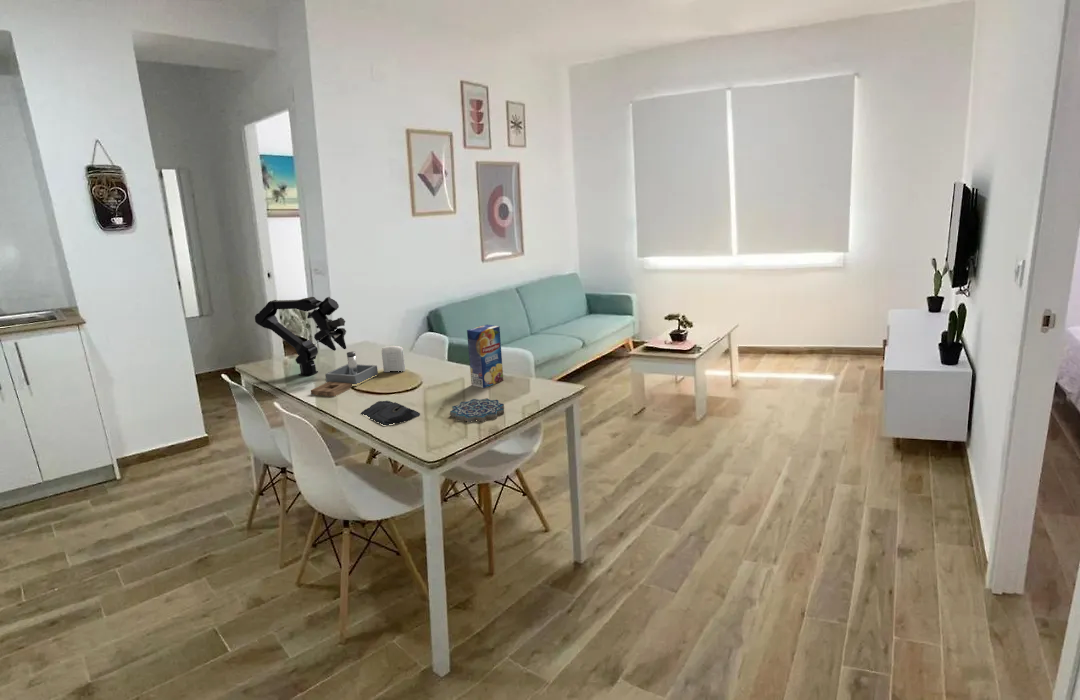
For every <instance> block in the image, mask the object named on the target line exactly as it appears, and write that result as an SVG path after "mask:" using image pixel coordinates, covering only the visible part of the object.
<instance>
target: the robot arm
mask: <svg viewBox="0 0 1080 700" xmlns="http://www.w3.org/2000/svg"><path fill="white" fill-rule="evenodd" d="M339 306H340V305H339V303H338V302H337V301H336V300H335V299H333V298H331V297H330V296H328V297H326V298H325V299H324V300H323V301H322V300H319V299H317V298H316V297H315V296H308V297H304V298H301V299H282V300H281V299H280V300H278V299H274V300H270V301H268V302H267V303H266V305H264V307H262V309H261V310H260V311H259V312H258V313H256V314H255V316H254V321H255V323H256V324H257V325H258V326H260V327H261V328H264V329H268V330H270V331H272V332H273V333H275V334H276V335H277V336H279V338H282V340H283V341H285V342H286V343H287V344H289V345H290V346H291V347H293V349H295V352H296V354H297V355H298V356H297V357H296V358H295V363H296V364H298V365H299V369H300V373H298V376H303V377H304V376H306V377H311V376H312V375H315V374H317V373H319V370H317V367H316V364H315V360H316V359H317V355H318V354H319V350H318V347H317V345H316V344H315V343H314V342H312V341H311V340H309V339H307V340H305V341H304V340H302V339H301V338H300V337H298V336H297V335H296V334H294V333H293V332H292V331H290V329H289V328H287V327H286V326H284V325H283V324H282V323H280V322H279V320H278V318H277V316H276V315H277V313H278V310H298V311H301V312H308V313H307V319H313V322H314V323H315V324H316V326H315V327H316V329H319V331H318V332H316V333H315V334H314V337H313V338H314V339H315V341H316V342H318V343H320V344H322V345H324V346H326V347H327V348H329V349H331V351H333V352H334V351H336V350H337V348H336V345H335V344H334V342H335V343H336V344H337V345H338V346H339V347H341V348H342V349H343V350H346V349H347V344H346V340H345V336H346V333H347V330H346V328H345V327H344V326H345V323H346V320H345V319H344V318H343V317H338V318H337V319H333V320H332V319H330V318H328V316H331V315H332V314H333V313H335V312H336V311H337V310H338V309H339V308H340V307H339ZM342 326H343V327H342ZM338 327H339V328H338ZM332 339H333V340H332ZM333 341H334V342H333Z"/></svg>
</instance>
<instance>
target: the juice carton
mask: <svg viewBox="0 0 1080 700" xmlns="http://www.w3.org/2000/svg"><path fill="white" fill-rule="evenodd" d="M500 327H501V326H499V325H494V324H493V325H492V324H484V325H481V326H477V327H474V328H470V329H467V330H466V334H467V346H468V357H469V359H468V360H469V370H470V382H471V386H473V387H477V388H482V389H485V388H487V387H490V386H493V385H496V384H498V383H500V382H503V381H504V370H503V356H502V344H501V343H502V341H501V331H500V330H501V329H500Z"/></svg>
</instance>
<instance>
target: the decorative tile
mask: <svg viewBox="0 0 1080 700" xmlns="http://www.w3.org/2000/svg"><path fill="white" fill-rule="evenodd" d="M451 409H452V410H450V411H449V414H450V417H451V416H452V417H451V418H455V421H456V420H465V421H464V422H466V421H467V422H470V423H472V422H471V421H474V422H479V421H482V422H481V423H484V422H486V421H488V420H497V419H498V416H501V415H505V404H504V403H501V402H500V401H499V400H498V399H492V400H491V399H490V398H488V397H487V398H481V399H477V398H472V399H471V400H469V401H468V400H467V401H466V400H465V401H460V402H459V404H457V405H452V406H451ZM487 419H488V420H487ZM476 420H477V421H476ZM485 420H486V421H485ZM483 421H484V422H483ZM467 422H466V423H467Z"/></svg>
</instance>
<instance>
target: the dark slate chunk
mask: <svg viewBox="0 0 1080 700" xmlns="http://www.w3.org/2000/svg"><path fill="white" fill-rule="evenodd" d="M361 414H364V415H367V416H368V417H370V419H373V420H375V421H376V422H379V423H381V424H383V425H389V424H393V423H398V424H401V423H400V422H403V423H405V422H404V421H406V422H409V421H411V420H413V419H415V418H417V417H418V416H421V413H420V412H419V411H417V410H415V409H411V408H409V407H407V406H405V405H403V404H400V403H398V402H396V401H395V402H393V401H391V400H381V401H380V400H379V401H377V402H375V403H373V404H372V405H370V406H369V407H367V408H365V409H364V410H362V412H361V413H360V415H361ZM370 419H369V420H370ZM408 420H409V421H408ZM376 422H375V423H376Z"/></svg>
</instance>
